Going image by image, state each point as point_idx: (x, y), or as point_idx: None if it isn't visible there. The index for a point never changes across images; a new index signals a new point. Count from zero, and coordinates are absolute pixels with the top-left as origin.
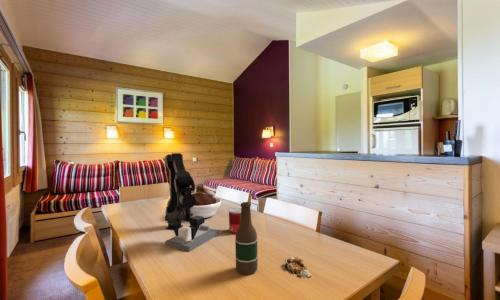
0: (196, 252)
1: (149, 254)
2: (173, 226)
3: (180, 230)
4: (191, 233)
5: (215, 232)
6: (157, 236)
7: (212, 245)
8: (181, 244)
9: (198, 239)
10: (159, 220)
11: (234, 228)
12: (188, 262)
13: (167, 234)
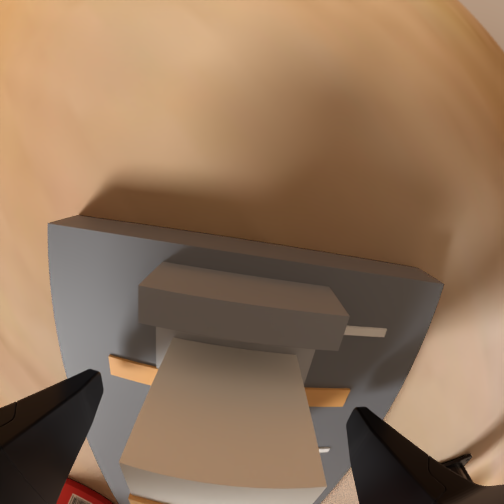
0: (26, 220)
1: (424, 54)
2: (443, 488)
3: (257, 473)
4: (44, 408)
5: (111, 490)
6: (500, 374)
7: (28, 363)
8: (170, 254)
9: (102, 408)
10: (493, 465)
11: (59, 496)
12: (18, 59)
13: (454, 423)
